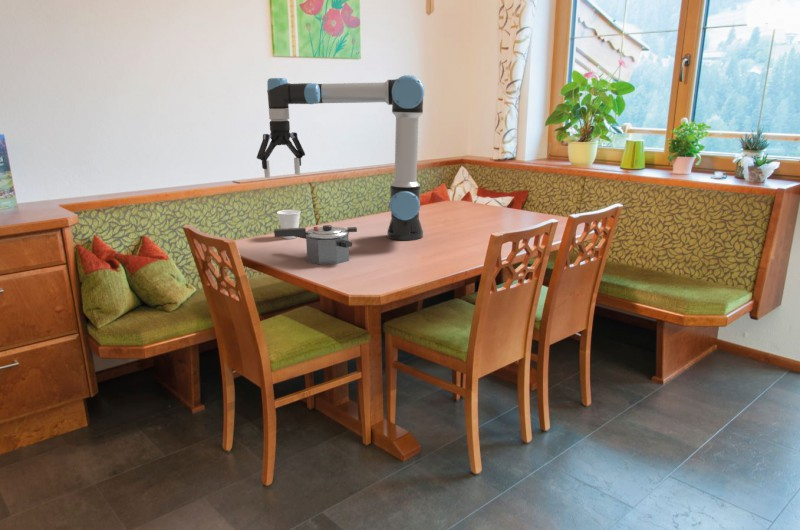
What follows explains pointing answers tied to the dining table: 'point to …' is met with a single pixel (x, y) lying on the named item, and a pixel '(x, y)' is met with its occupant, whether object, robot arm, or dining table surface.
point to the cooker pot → (327, 250)
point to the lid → (316, 232)
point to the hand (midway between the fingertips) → (282, 176)
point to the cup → (289, 220)
